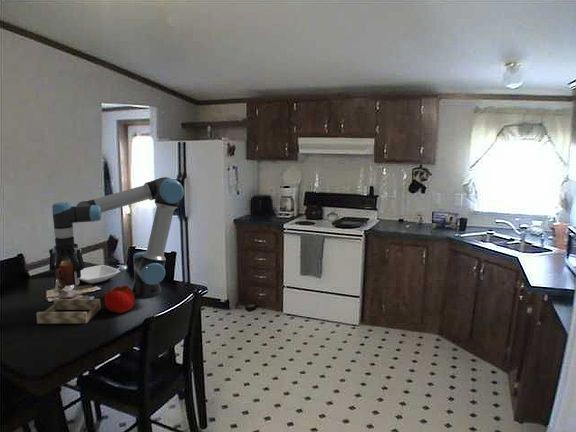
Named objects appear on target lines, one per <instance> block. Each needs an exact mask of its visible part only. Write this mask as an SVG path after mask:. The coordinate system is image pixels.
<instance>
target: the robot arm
mask: <svg viewBox="0 0 576 432" xmlns="http://www.w3.org/2000/svg"><path fill="white" fill-rule="evenodd" d="M184 194H185V191H184V187H183V185H182V183H180V182H179V181H178V180H177V179H174V178H171V177H167V176H164V177H159V178H156V179H154V180H153V179H152V180H151V181H150V180H149V181H147V182H145V183H144V184H143V185H140V186H136V187H133V188H130V189H126V190H122V191H119V192H114V193H112V194H108V195H104V196H100V197H96V198H92V199H90V200H82V201H78V203H77V204H76V206H75V205H74V206H72V203H71V202H67V201H65V202H64V201H63V202H60V201H59V202H55V203H53V205H52V207H51V209H52V220H53V231H54V232H53V233H54V237H55V238H54V241H55V246H56V248H55V249H54V247H53V248H50V249H48V252H49V265H48V267H49V271H53V274H54V279H56V284H57V286H61V285H62V283H61V280H58V279H57V277H56V269H57V268H59V266H58V265H60V264H61V261H62V258H63V257H65V256H66V257H68V258H69V259H70V260H71V262H72V264H73V266H74V268H75V270H76V271H75V272H74V274H75V286H78V285H79V284H80V279H79V278H80V277H81V270H83V269H84V268H86V266H85V262H84V258H83V254H82V253H83V248H79V247H78V248H75V246H74V243H75V237H74V225H73V224H76V223H88V222H93V223H94V222H99V221H101V220H102V213H106V212H108V211H112V210H115V209H119V208H123V207H125V206H130V205H134V204H136V203H140V202H143V201H147V200H149V201H154V204H155V205H156V208H155V212H154V217H153V221H152V226H151V229H150V235H149V238H148V243H147V248H146V251H139V252H135V253H134V254H133V259H132V260H133V275H134V278H133V279H134V281H133V284H132V289H131V290H132V291H133V293H134V298H137V299H148V298H155V297H157V296H159V295H160V294H161V292H162V287H161V285H160V283H161V282H162V281H163V280H164V279H165V276H166V269H165V265H166V260H167V259H166V257H165V251H166V247H167V243H168V237H169V233H170V229H171V224H172V221H173V215H174V212H175V210H176V209H178V208H179V204H180V202H181V201H182V199H183V198H184ZM56 251H57V253H58V257H57V261H56V259H55V253H56ZM74 251H76V253H77V259H78V260H76V258H75V255H74V253H73V252H74ZM77 261H78V262H77ZM78 263H79V264H78ZM59 275H60V271H59ZM60 278H61V277H60Z"/></svg>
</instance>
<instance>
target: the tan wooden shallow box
mask: <svg viewBox="0 0 576 432" xmlns="http://www.w3.org/2000/svg"><path fill="white" fill-rule="evenodd" d="M101 309H102V308H101V299H100V298H54V299H53V304H52V305H50V306H49V307H48V308H47V309H46V310H44V311H37V312H36V313H35V314H36V322H37V323H36V324H87V323H88V322H90V320H91V319H92V318H93V317H94V316H95V315H96V314H97V313H99V311H100V310H101ZM58 310H59V311H58ZM64 310H65V311H64ZM68 310H70V311H68ZM71 310H72V311H71ZM74 310H75V311H74ZM76 310H77V311H76ZM80 310H82V311H80ZM86 310H88V311H86Z"/></svg>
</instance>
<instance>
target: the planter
mask: <svg viewBox="0 0 576 432" xmlns="http://www.w3.org/2000/svg"><path fill="white" fill-rule="evenodd" d="M74 246H75V248H78V249H79V244H78V243H75V242H74ZM53 248H54V249H55V248H56V245H54V246H53ZM73 253H74V255H75V258H76V260H77V261H78V259H77V253H76V251H74V252H73ZM57 257H58V253H57V251H56V253H55V262H56V261H57ZM67 260H70V259H69V258H68V257H66V256H65V257H63V258H62V261H67ZM62 261H61V262H62Z"/></svg>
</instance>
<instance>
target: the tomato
mask: <svg viewBox="0 0 576 432" xmlns="http://www.w3.org/2000/svg"><path fill="white" fill-rule="evenodd" d="M135 298H136V297H134V293H133V291H132V288H130V287H129V286H128V285H122V286H117V287H114V288H112V289H111V290H108V291H107V293H106V294H105V296H104V301H103V302H104V305H105V307H106V309H107V310H108V311H110V312H111V313H112V312H113V313H118V314H121V313H125V312H129V311H130V310H131V309H132V308H133V307H134V305H135V302H136V301H135V300H136V299H135Z"/></svg>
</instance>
